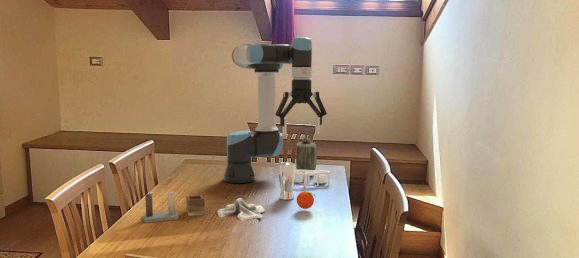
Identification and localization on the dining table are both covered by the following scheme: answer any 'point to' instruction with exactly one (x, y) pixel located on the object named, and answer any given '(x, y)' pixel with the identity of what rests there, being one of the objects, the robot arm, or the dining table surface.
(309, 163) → the green square bottle
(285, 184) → the beer glass
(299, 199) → the clementine
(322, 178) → the clear divided organizer
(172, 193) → the pin stand
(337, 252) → the dining table surface
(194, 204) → the brown open cube
